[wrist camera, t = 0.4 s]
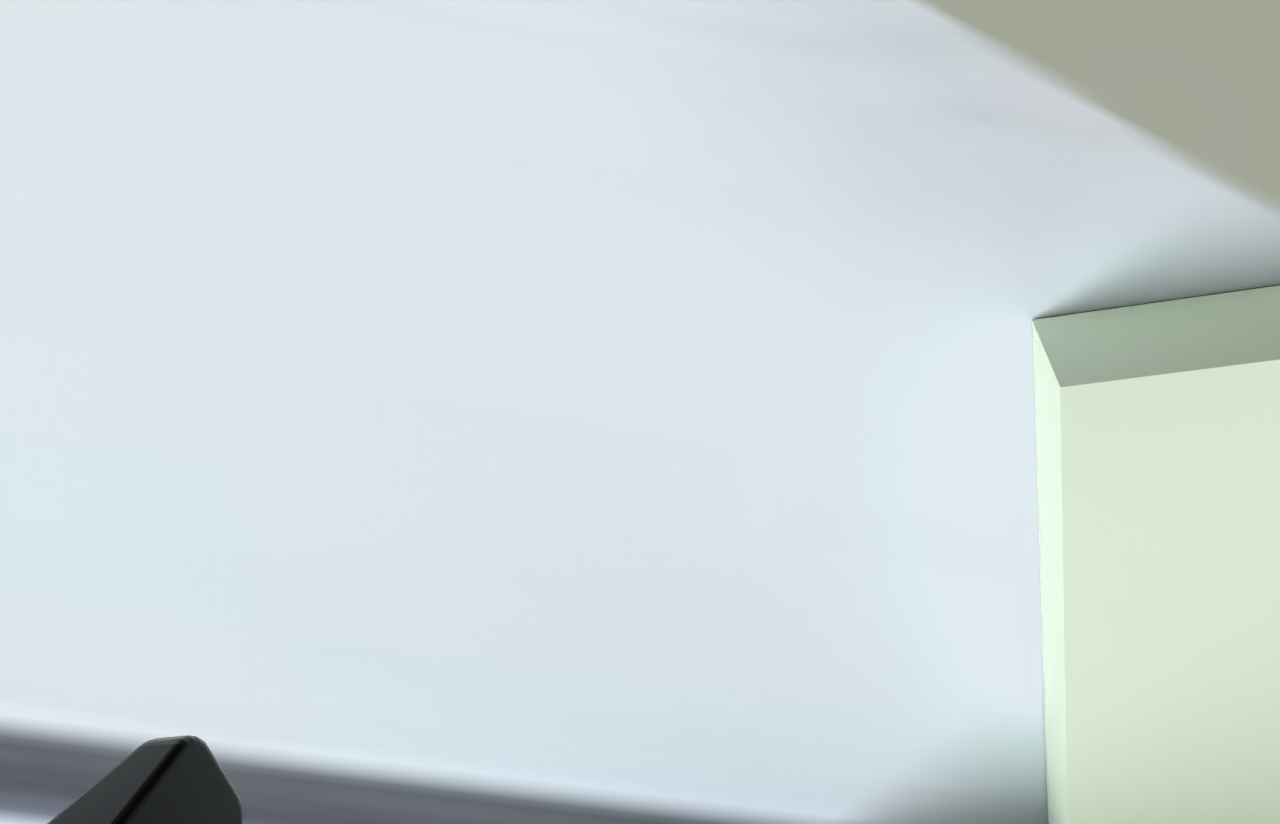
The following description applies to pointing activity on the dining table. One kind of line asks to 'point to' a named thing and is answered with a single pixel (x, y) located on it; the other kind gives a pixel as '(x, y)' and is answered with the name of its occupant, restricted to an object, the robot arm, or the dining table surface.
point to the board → (1161, 560)
